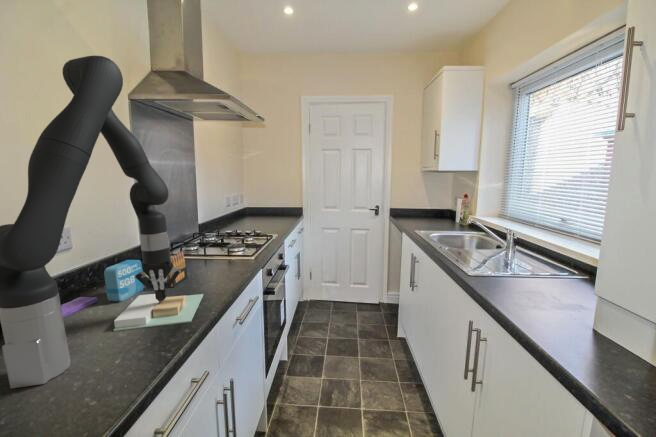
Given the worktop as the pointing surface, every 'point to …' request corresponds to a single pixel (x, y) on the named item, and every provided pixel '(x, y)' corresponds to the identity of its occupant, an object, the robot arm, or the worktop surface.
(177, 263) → the ammunition clip
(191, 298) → the mat
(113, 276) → the data package
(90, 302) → the sponges
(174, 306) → the coaster
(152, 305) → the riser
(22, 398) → the worktop surface
